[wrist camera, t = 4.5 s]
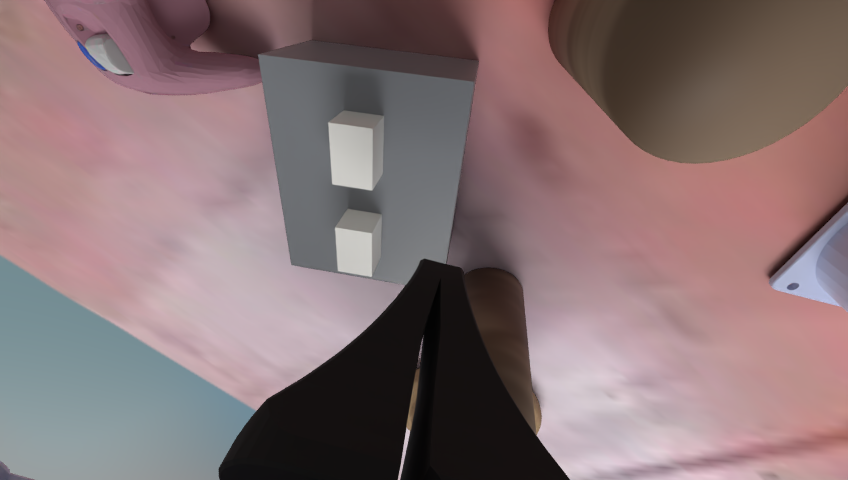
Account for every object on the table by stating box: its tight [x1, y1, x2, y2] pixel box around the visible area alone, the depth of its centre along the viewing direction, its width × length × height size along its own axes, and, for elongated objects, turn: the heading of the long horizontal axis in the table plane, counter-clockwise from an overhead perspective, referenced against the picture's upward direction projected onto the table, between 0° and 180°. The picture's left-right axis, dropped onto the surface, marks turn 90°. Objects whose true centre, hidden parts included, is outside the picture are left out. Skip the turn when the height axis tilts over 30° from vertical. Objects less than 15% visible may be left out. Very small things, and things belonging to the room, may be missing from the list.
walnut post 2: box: [548, 0, 848, 164], centre depth 11 cm, size 4×4×10 cm
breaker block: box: [258, 40, 479, 285], centre depth 17 cm, size 8×10×7 cm
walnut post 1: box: [464, 268, 536, 434], centre depth 20 cm, size 4×4×10 cm
